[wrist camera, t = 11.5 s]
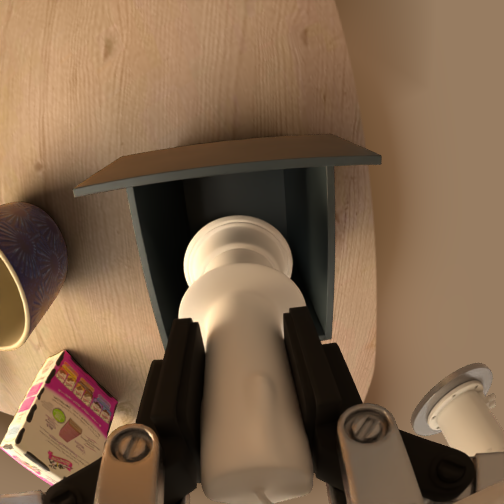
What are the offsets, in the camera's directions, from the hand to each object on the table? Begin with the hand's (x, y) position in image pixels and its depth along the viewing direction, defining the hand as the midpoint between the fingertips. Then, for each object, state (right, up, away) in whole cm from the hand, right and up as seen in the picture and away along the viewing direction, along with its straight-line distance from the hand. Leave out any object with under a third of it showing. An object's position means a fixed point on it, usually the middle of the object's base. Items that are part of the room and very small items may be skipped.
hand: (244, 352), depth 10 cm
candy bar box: (-23, -15, +27) cm, 39 cm away
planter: (-24, +4, +20) cm, 31 cm away
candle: (0, +3, +6) cm, 7 cm away
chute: (-1, +8, +19) cm, 21 cm away
